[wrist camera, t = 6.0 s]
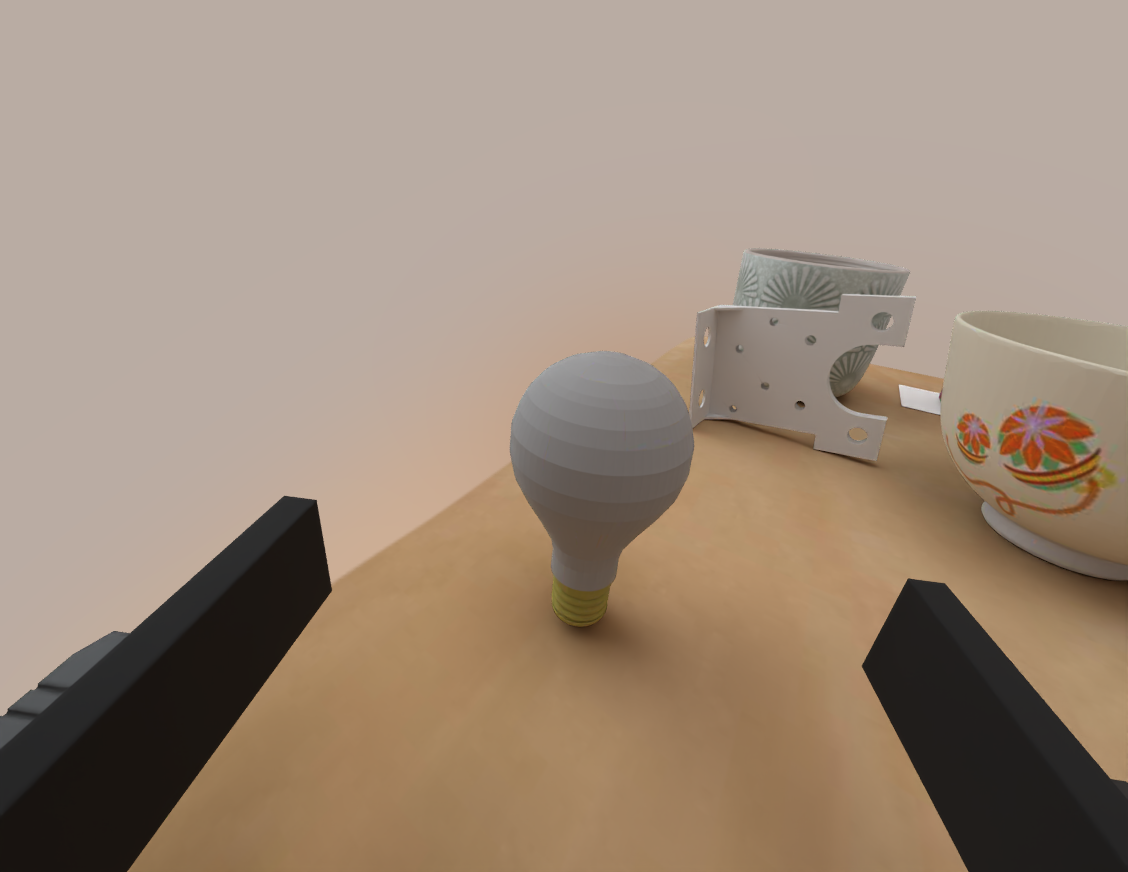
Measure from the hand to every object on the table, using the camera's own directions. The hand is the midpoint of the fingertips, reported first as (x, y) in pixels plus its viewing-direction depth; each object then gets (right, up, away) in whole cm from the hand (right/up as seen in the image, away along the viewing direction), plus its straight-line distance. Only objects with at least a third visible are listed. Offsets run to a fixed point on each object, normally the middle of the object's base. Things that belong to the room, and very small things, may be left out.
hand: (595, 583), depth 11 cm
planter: (+19, +8, +33) cm, 39 cm away
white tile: (+34, +6, +32) cm, 47 cm away
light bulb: (0, -3, +7) cm, 8 cm away
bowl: (+25, -2, +14) cm, 29 cm away
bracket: (+13, +3, +22) cm, 26 cm away
